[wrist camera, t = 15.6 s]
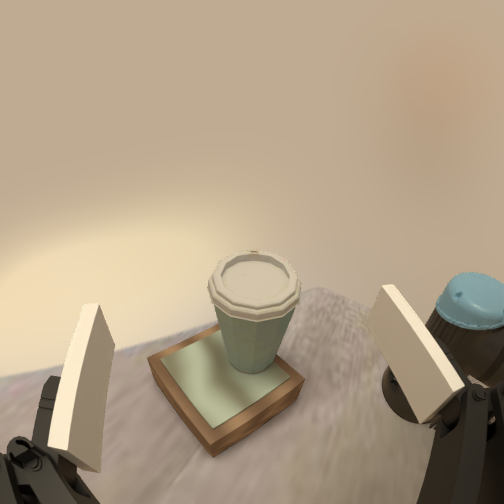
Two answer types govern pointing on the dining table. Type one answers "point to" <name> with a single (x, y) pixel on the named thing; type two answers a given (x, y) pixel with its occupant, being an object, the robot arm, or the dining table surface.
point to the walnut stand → (221, 389)
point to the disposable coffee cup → (253, 305)
